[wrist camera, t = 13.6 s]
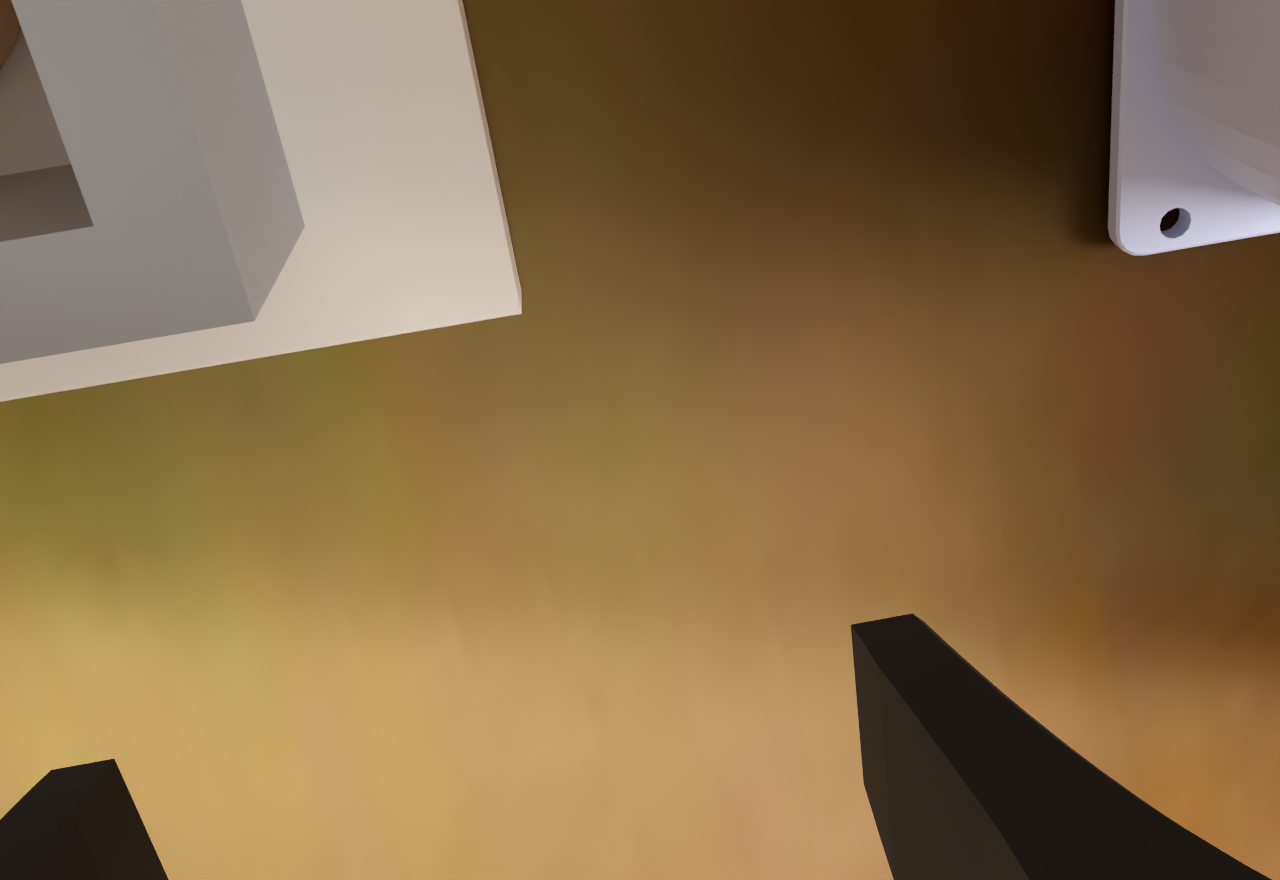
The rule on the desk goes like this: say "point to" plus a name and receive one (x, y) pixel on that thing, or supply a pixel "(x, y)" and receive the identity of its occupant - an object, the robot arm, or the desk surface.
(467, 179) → the socket base plate
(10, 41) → the button
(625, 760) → the desk surface
